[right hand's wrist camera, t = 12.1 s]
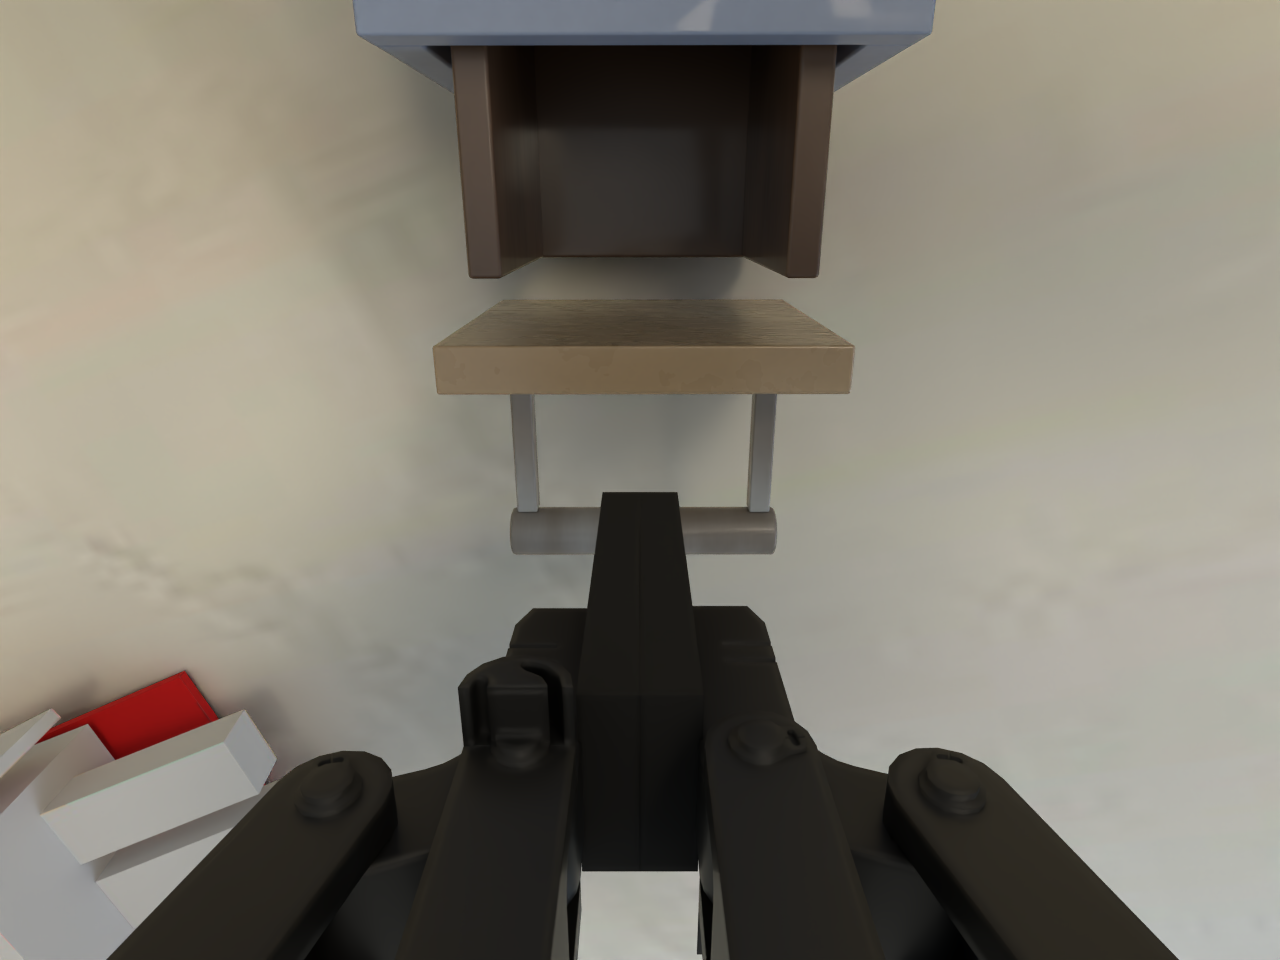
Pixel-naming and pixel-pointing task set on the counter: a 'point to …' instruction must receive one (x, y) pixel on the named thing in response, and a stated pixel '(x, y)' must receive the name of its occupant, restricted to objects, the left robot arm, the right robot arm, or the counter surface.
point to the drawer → (643, 243)
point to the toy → (116, 814)
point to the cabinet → (643, 27)
